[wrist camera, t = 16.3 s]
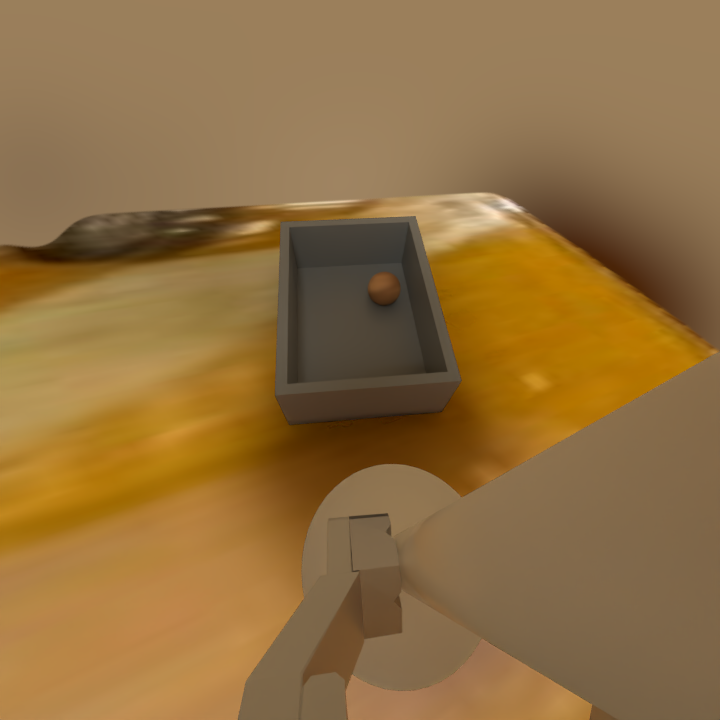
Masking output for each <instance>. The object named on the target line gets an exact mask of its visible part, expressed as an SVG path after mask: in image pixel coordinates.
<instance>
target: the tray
mask: <svg viewBox="0 0 720 720" xmlns="http://www.w3.org/2000/svg"><path fill="white" fill-rule="evenodd" d="M380 272H389V273H392V274H393V275H395V276H396V277H397V278H398V280H399V282H400V286H401V290H400V294H399V297H398V298H397V299H396V301H394V302H393V303H391V304H389V305H379V304H377V303H375V302H374V301H373V300H372V299H371V298H370V296H369V293H368V284H369V281H370V280H371V278H372V277H373V276H374V275H375V274H377V273H380ZM460 382H461V377H460V374H459V370H458V366H457V363H456V359H455V356H454V352H453V349H452V345H451V341H450V338H449V334H448V331H447V327H446V324H445V320H444V316H443V313H442V309H441V306H440V302H439V299H438V295H437V291H436V288H435V284H434V281H433V277H432V274H431V270H430V266H429V263H428V259H427V256H426V252H425V249H424V245H423V241H422V238H421V234H420V231H419V227H418V223H417V220H416V216H410V217H387V218H363V219H340V220H316V221H293V222H281V232H280V262H279V292H278V321H277V351H276V381H275V397H276V399H277V401H278V403H279V405H280V407H281V409H282V411H283V413H284V415H285V417H286V419H287V421H288V423H289V425H294V424H306V423H318V422H330V421H341V420H353V419H365V418H377V417H389V416H400V415H412V414H424V413H436V412H442V410H443V409H444V407H445V406H446V404H447V403H448V401H449V400H450V398H451V396H452V395H453V393H454V392H455V390H456V389H457V387H458V386H459V384H460Z"/></svg>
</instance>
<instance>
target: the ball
mask: <svg viewBox="0 0 720 720" xmlns="http://www.w3.org/2000/svg"><path fill="white" fill-rule="evenodd" d="M400 290H401V286H400V282H399V280H398V278H397V277H396V276H395V275H393V274H392V273H389V272H380V273H377V274H375V275H374V276H373V277H372V278H371V280H370V281H369V284H368V293H369V296H370V298H371V299H372V300H373V301H374V302H375V303H377V304H379V305H389V304H391V303H393V302H394V301H396V299H397V298H398V297H399V294H400Z"/></svg>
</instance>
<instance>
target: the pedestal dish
mask: <svg viewBox="0 0 720 720" xmlns="http://www.w3.org/2000/svg"><path fill="white" fill-rule="evenodd" d="M384 513H388V515H389V518H390V522H391V537H392V538H393V539H395V543H396V548H397V552H398V560H399V566H400V574H401V593H400V594H399V597H400V602H401V607H402V633H399V634H393V635H387V636H380V637H374V638H368V639H364V645H363V647H362V650H361V652H360V655H359V657H358V660H357V663H356V665H355V668H354V670H353V673H352V674H353V675H354V676H356V677H357V678H359V679H361V680H363V681H365V682H367V683H369V684H371V685H374V686H377V687H380V688H383V689H388V690H396V691H411V690H418V689H422V688H426V687H430V686H432V685H434V684H437V683H439V682H441V681H443V680H444V679H446V678H447V677H449V676H450V675H452V674H453V673H455V672H456V671H457V670H458V669H459V668H460V667H461V666H462V665H463V664H464V663H465V662H466V661H467V660H468V658H469V657H470V656H471V655H472V653H473V652H474V650H475V649H476V647H477V645H478V644H479V642H480V640H481V638H482V639H484V640H486V641H487V642H489V643H491V644H492V645H494V646H496V647H497V648H499V649H501V650H502V651H504V652H506V653H507V654H509V655H511V656H512V657H514V658H516V659H517V660H519V661H521V662H523V663H524V664H526V665H528V666H529V667H531V668H533V669H534V670H536V671H538V672H539V673H541V674H543V675H544V676H546V677H548V678H549V679H551V680H553V681H554V682H556V683H558V684H559V685H561V686H563V687H564V688H566V689H568V690H569V691H571V692H573V693H574V694H576V695H578V696H579V697H581V698H583V699H584V700H586V701H588V702H589V703H591V704H593V705H594V706H596V707H598V708H599V709H601V710H603V711H604V712H606V713H608V714H609V715H611V716H613V717H614V718H616V719H618V720H720V351H719V352H718V353H716V354H714V355H712V356H710V357H709V358H707V359H705V360H703V361H702V362H700V363H698V364H696V365H695V366H693V367H691V368H689V369H688V370H686V371H684V372H682V373H681V374H679V375H677V376H675V377H673V378H672V379H670V380H668V381H666V382H665V383H663V384H661V385H659V386H658V387H656V388H654V389H652V390H651V391H649V392H647V393H645V394H644V395H642V396H640V397H638V398H636V399H635V400H633V401H631V402H629V403H628V404H626V405H624V406H622V407H621V408H619V409H617V410H615V411H614V412H612V413H610V414H608V415H607V416H605V417H603V418H601V419H599V420H598V421H596V422H594V423H592V424H591V425H589V426H587V427H585V428H584V429H582V430H580V431H578V432H577V433H575V434H573V435H571V436H570V437H568V438H566V439H564V440H562V441H561V442H559V443H557V444H555V445H554V446H552V447H550V448H548V449H547V450H545V451H543V452H541V453H540V454H538V455H536V456H534V457H533V458H531V459H529V460H527V461H525V462H524V463H522V464H520V465H518V466H517V467H515V468H513V469H511V470H510V471H508V472H506V473H504V474H503V475H501V476H499V477H497V478H496V479H494V480H492V481H490V482H488V483H487V484H485V485H483V486H481V487H480V488H478V489H476V490H474V491H473V492H471V493H469V494H467V495H466V496H464V497H462V498H461V496H460V495H459V494H458V493H457V492H456V491H455V490H454V489H453V488H451V487H450V486H449V485H448V484H447V483H445V482H444V481H442V480H441V479H440V478H438V477H436V476H434V475H433V474H431V473H429V472H427V471H424V470H422V469H419V468H416V467H412V466H408V465H400V464H383V465H377V466H372V467H369V468H365V469H363V470H360V471H358V472H356V473H354V474H352V475H351V476H349V477H347V478H346V479H344V480H343V481H342V482H341V483H339V484H338V485H337V486H336V487H335V488H334V489H333V490H332V491H331V492H330V493H329V494H328V495H327V496H326V498H325V499H324V501H323V502H322V503H321V505H320V506H319V508H318V510H317V512H316V513H315V515H314V517H313V519H312V522H311V524H310V527H309V529H308V532H307V536H306V539H305V543H304V549H303V555H302V587H303V593H304V598H305V597H306V595H307V594H308V592H309V591H310V589H311V588H312V587H313V585H314V584H315V582H316V581H317V580H318V578H319V577H320V576H323V575H327V522H328V518H338V517H348V519H349V516H359V515H371V514H384ZM349 531H350V528H349ZM350 544H351V542H350Z"/></svg>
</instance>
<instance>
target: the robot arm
mask: <svg viewBox="0 0 720 720" xmlns="http://www.w3.org/2000/svg"><path fill="white" fill-rule="evenodd" d="M349 528H350V531H349ZM350 542H351V544H350ZM400 593H401V574H400V566H399V560H398V552H397V548H396V543H395V539H393V538H392V537H391V522H390V518H389V515H388V513H384V514H371V515H359V516H349V519H348V517H338V518H328V522H327V575H323V576H320V577H319V578H318V580H317V581H316V582H315V584H314V585H313V587H312V588H311V589H310V591H309V592H308V594H307V595H306V597H305V598H304V599H303V601H302V602H301V604H300V605H299V607H298V608H297V609H296V611H295V612H294V614H293V615H292V617H291V618H290V619H289V621H288V622H287V624H286V625H285V626H284V628H283V629H282V631H281V632H280V634H279V635H278V636H277V638H276V639H275V641H274V642H273V644H272V645H271V646H270V648H269V649H268V651H267V652H266V654H265V655H264V656H263V658H262V659H261V661H260V662H259V663H258V665H257V666H256V668H255V669H254V671H253V672H252V673H251V675H250V676H249V678H248V679H247V681H246V683H245V688H244V693H243V697H242V702H241V707H240V711H239V716H238V720H348V714H347V703H346V688H347V686H348V683H349V681H350V678H351V675H352V673H353V670H354V668H355V665H356V663H357V660H358V657H359V655H360V652H361V650H362V647H363V645H364V639H368V638H374V637H380V636H387V635H393V634H399V633H402V607H401V602H400V597H399V594H400ZM590 720H618V719H616V718H614V717H613V716H611V715H609V714H608V713H606V712H604V711H603V710H601V709H599V708H598V707H596V706H594V705H593V704H592V709H591V714H590Z"/></svg>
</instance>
